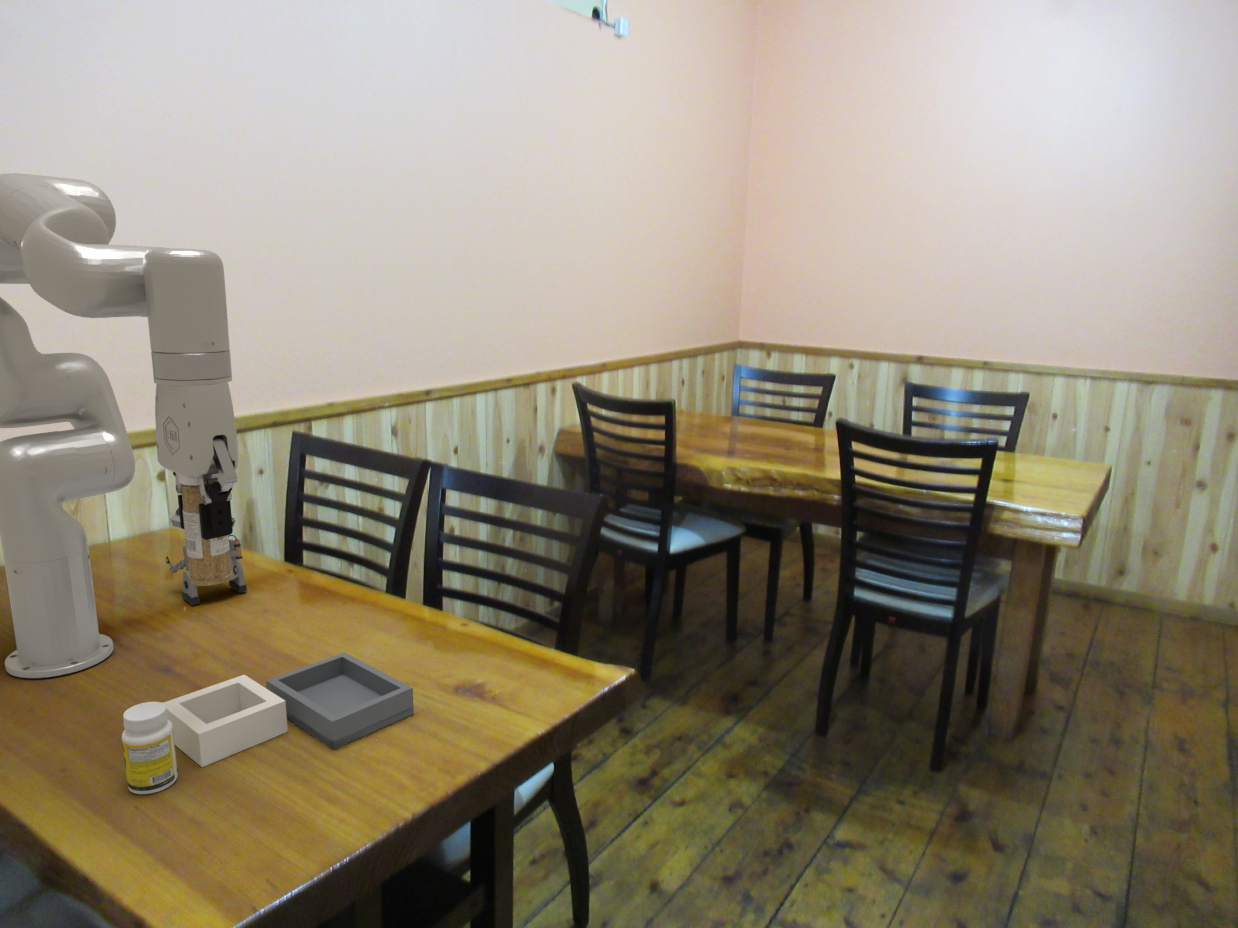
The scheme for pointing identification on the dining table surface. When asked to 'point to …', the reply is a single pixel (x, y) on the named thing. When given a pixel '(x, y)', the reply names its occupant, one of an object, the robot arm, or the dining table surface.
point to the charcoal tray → (342, 699)
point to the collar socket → (225, 719)
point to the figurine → (188, 588)
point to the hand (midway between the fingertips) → (206, 530)
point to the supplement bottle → (149, 748)
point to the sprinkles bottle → (203, 555)
